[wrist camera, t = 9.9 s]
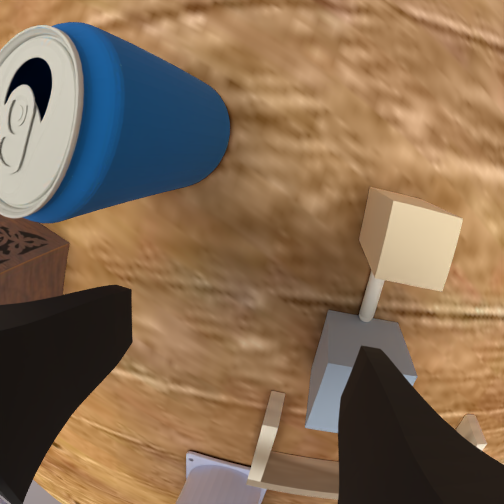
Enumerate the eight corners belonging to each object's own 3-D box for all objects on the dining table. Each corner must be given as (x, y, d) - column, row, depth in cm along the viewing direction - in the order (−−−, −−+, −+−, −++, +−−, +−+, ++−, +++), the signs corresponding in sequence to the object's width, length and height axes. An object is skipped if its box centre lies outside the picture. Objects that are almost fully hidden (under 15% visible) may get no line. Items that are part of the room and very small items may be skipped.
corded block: (375, 379, 20) (384, 444, 14) (311, 368, 20) (303, 434, 15) (431, 201, 16) (478, 223, 10) (356, 183, 17) (373, 196, 11)
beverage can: (253, 102, 16) (136, 21, 5) (205, 205, 19) (55, 275, 7) (159, 67, 17) (2, 10, 6) (120, 161, 19) (-45, 185, 8)
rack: (431, 472, 21) (436, 500, 18) (254, 454, 24) (245, 484, 21) (474, 414, 19) (486, 443, 15) (271, 390, 21) (262, 424, 18)
